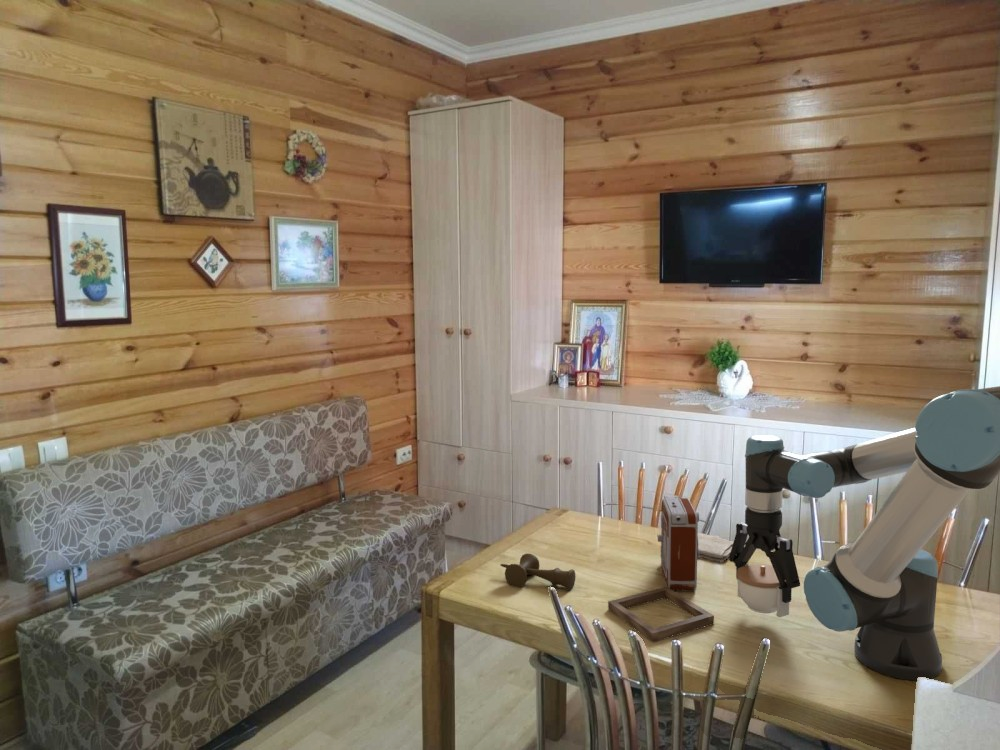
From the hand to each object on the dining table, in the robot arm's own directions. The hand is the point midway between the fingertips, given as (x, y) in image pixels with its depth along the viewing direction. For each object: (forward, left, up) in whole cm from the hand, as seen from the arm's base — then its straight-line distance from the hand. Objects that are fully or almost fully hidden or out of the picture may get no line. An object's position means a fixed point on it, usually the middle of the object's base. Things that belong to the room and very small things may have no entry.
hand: (762, 605), depth 157 cm
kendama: (+42, +34, -5) cm, 54 cm away
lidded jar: (0, 0, -1) cm, 1 cm away
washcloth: (+39, -16, -5) cm, 42 cm away
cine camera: (+28, +1, -4) cm, 28 cm away
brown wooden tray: (+13, +18, -4) cm, 22 cm away
